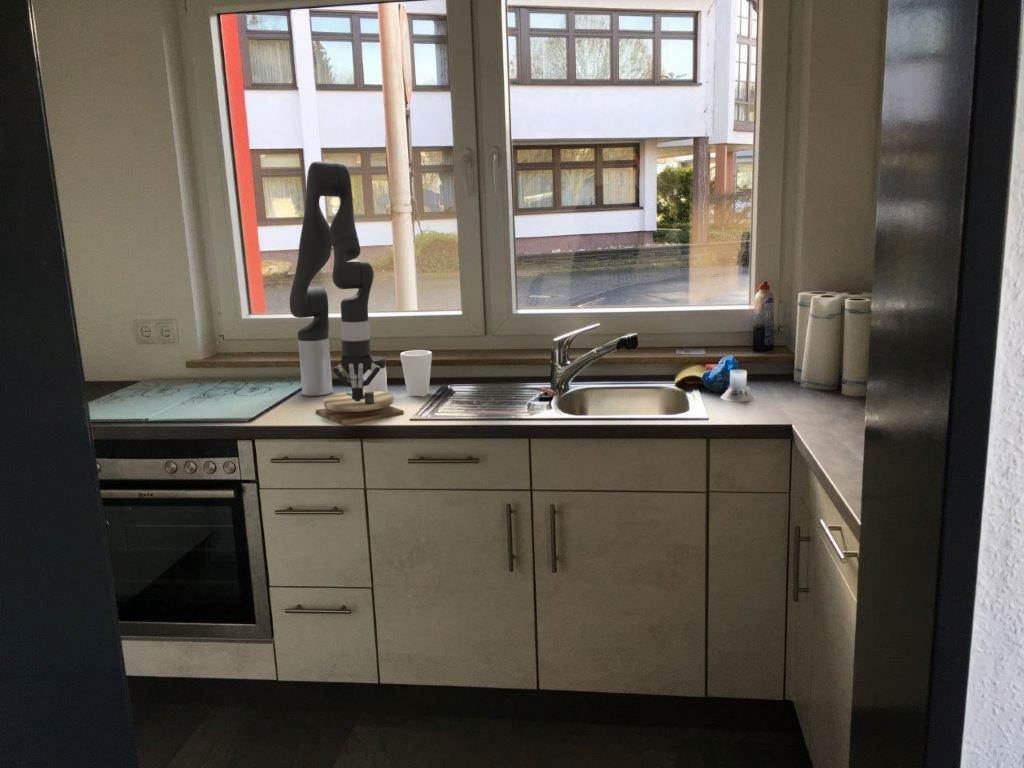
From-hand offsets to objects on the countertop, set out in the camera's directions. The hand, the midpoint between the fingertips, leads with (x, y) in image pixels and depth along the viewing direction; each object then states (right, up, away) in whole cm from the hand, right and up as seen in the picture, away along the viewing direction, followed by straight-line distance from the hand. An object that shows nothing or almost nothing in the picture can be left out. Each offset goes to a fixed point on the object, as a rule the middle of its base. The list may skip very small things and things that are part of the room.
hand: (358, 400), depth 224 cm
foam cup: (+13, +1, +31) cm, 34 cm away
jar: (0, 0, +28) cm, 28 cm away
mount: (-1, -4, +9) cm, 10 cm away
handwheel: (-1, -1, +8) cm, 8 cm away
